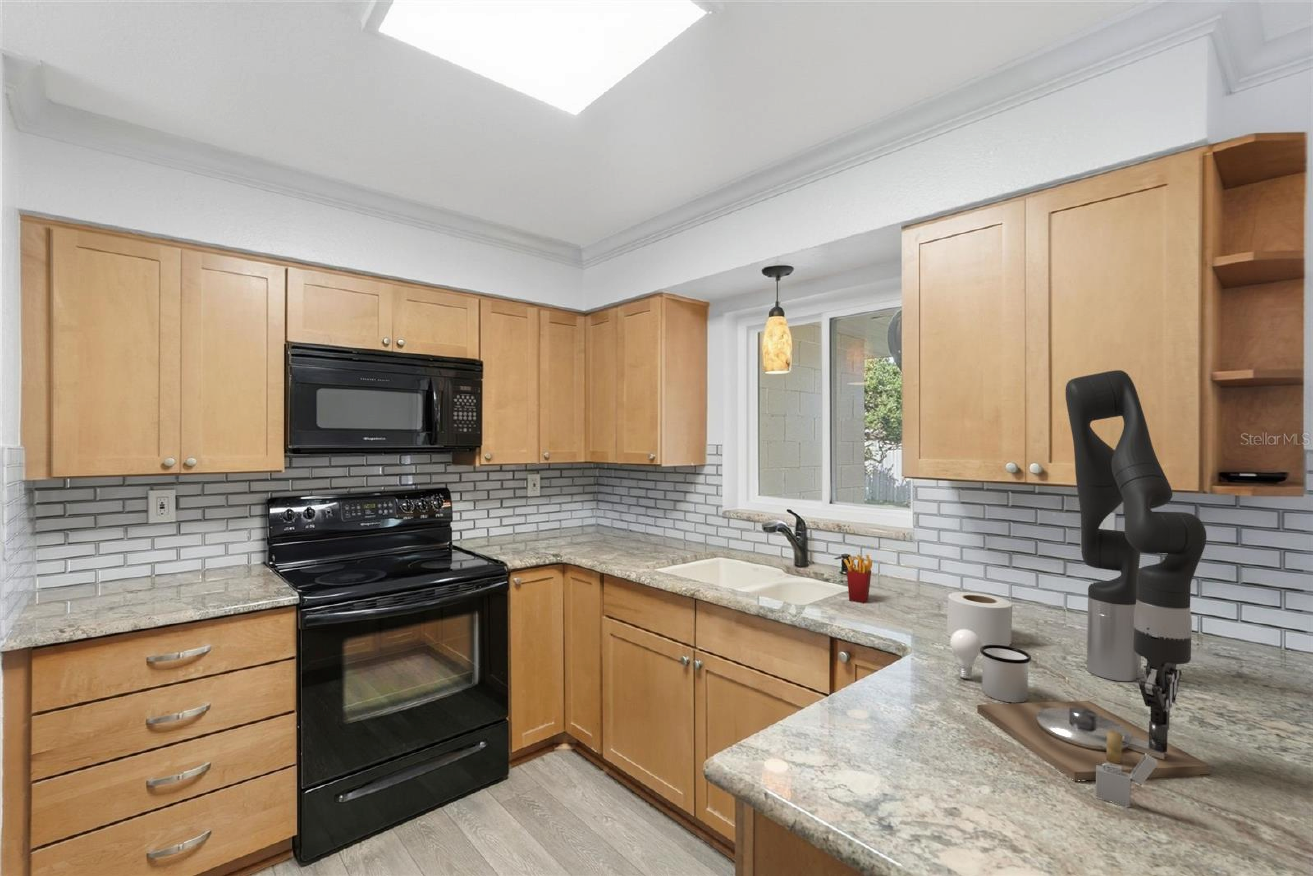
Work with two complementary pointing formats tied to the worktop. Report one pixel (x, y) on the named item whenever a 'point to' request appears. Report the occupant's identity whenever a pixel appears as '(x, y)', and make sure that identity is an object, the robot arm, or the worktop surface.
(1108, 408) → the robot arm
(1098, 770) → the lighter
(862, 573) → the french fries
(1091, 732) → the pot lid with knob
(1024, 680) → the mug
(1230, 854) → the worktop surface
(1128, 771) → the walnut board
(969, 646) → the lightbulb
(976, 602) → the toilet paper roll
